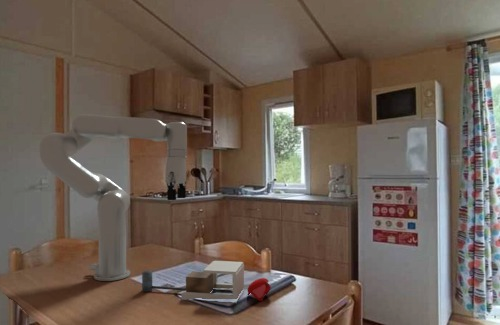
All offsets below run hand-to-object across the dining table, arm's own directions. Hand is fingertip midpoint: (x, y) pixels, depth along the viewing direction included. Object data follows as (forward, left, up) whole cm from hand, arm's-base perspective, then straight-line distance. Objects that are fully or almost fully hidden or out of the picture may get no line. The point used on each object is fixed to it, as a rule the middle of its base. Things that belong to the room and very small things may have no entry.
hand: (176, 199), depth 135 cm
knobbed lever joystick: (+8, -20, -28) cm, 35 cm away
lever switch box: (+20, -20, -28) cm, 40 cm away
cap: (+35, -20, -29) cm, 49 cm away
